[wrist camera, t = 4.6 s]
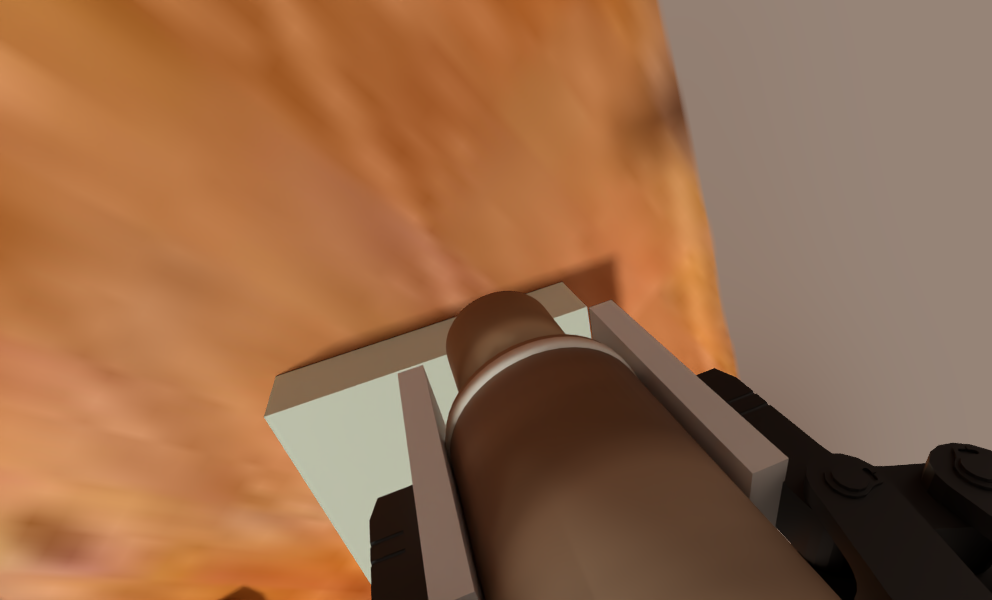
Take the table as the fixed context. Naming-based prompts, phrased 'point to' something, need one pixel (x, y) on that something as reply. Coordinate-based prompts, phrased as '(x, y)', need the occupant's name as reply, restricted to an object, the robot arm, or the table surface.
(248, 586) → the table surface
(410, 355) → the board
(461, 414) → the peg
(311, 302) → the table surface
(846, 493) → the robot arm
